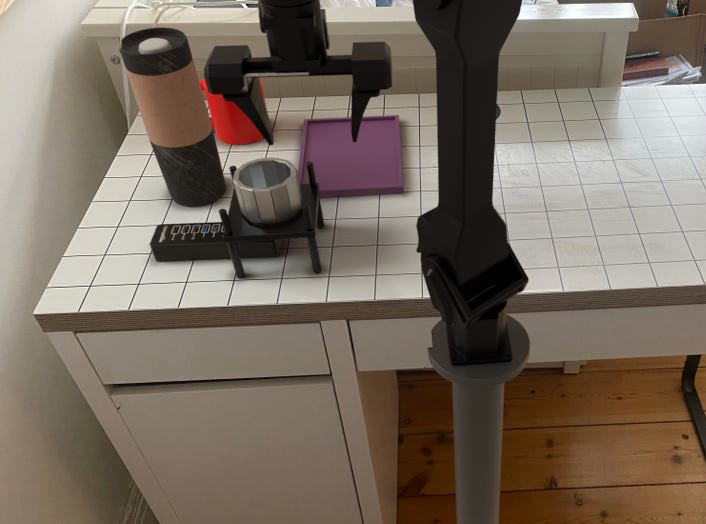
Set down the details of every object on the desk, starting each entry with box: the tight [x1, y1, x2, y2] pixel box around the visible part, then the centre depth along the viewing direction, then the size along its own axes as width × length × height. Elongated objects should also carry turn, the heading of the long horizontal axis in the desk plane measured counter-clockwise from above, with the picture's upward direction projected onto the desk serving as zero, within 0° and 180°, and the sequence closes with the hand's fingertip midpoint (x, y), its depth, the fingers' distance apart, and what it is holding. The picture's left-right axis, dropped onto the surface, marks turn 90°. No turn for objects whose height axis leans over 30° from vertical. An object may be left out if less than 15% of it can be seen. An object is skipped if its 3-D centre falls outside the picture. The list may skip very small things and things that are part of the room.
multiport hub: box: [149, 221, 282, 262], centre depth 90 cm, size 4×14×2 cm, turn 94°
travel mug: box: [118, 26, 227, 207], centre depth 92 cm, size 8×8×20 cm
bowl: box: [232, 157, 302, 224], centre depth 85 cm, size 7×7×5 cm
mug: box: [199, 77, 268, 146], centre depth 108 cm, size 8×12×8 cm, turn 90°
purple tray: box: [297, 114, 404, 199], centre depth 105 cm, size 20×14×1 cm
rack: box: [218, 162, 325, 279], centre depth 87 cm, size 10×10×9 cm
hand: (313, 141), depth 84 cm, fingers open, 9 cm apart
